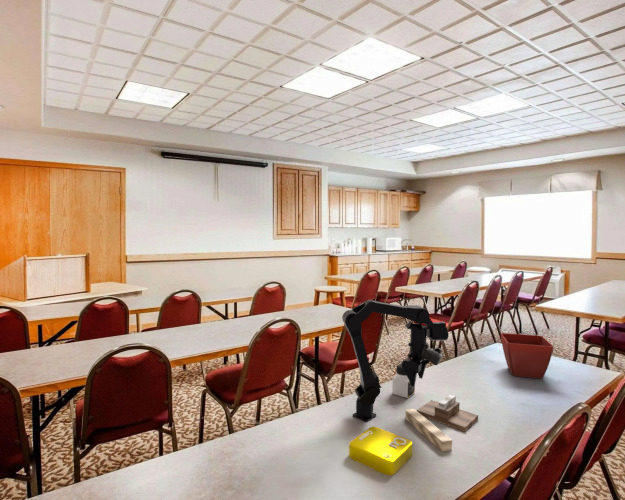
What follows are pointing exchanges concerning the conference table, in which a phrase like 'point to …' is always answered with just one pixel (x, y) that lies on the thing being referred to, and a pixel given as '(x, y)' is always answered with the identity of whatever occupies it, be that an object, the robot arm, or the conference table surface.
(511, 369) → the plant pot
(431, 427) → the beech stick
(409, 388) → the medicine bottle
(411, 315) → the robot arm
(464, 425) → the balance stand
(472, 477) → the conference table surface
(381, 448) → the element tile
